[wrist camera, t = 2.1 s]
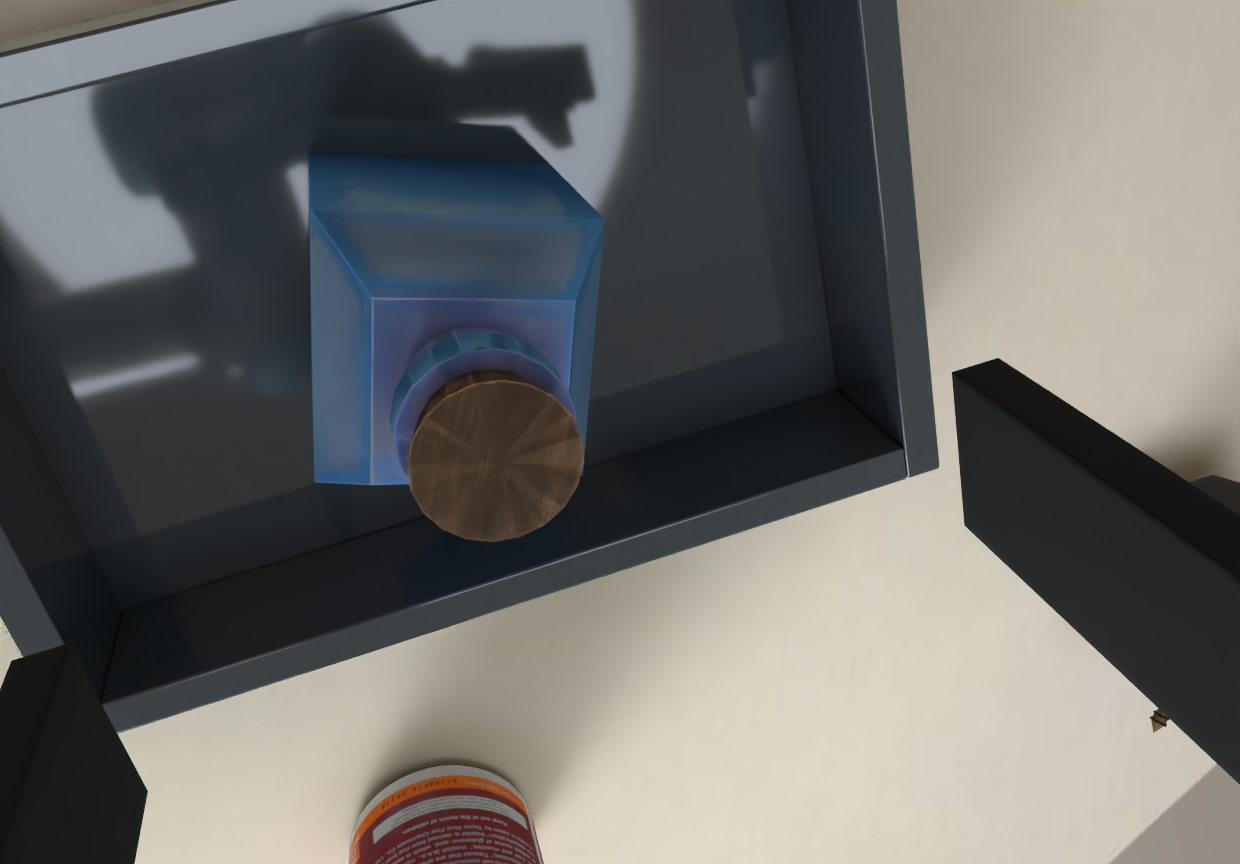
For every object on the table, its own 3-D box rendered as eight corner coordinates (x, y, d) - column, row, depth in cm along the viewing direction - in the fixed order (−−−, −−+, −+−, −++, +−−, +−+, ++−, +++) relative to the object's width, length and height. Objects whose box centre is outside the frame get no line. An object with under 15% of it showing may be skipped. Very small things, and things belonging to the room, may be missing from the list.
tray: (103, 640, 33) (73, 749, 29) (-183, 85, 26) (-279, 120, 22) (864, 403, 37) (940, 469, 32) (796, -151, 29) (883, -162, 25)
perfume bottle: (535, 381, 33) (647, 603, 22) (312, 382, 31) (318, 622, 21) (549, 164, 31) (682, 297, 20) (308, 152, 29) (313, 292, 18)
